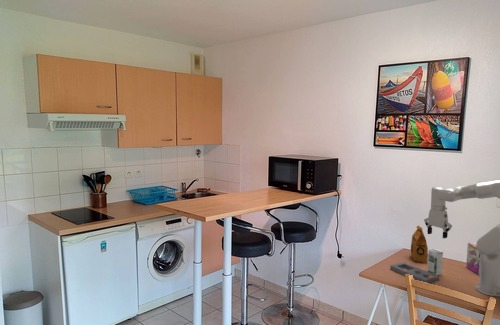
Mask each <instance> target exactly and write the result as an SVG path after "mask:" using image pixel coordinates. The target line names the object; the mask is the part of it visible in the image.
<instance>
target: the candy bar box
mask: <svg viewBox="0 0 500 325" xmlns="http://www.w3.org/2000/svg"><path fill="white" fill-rule="evenodd" d="M476 244H477V242H467V251H466V252H467V254H466V268H467V269H468V270H469V271H471V272H473V273H474V274H476V275H477V276H480V266H481V255H482V253H480V252H479V251H478V249H477V246H476Z"/></svg>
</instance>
